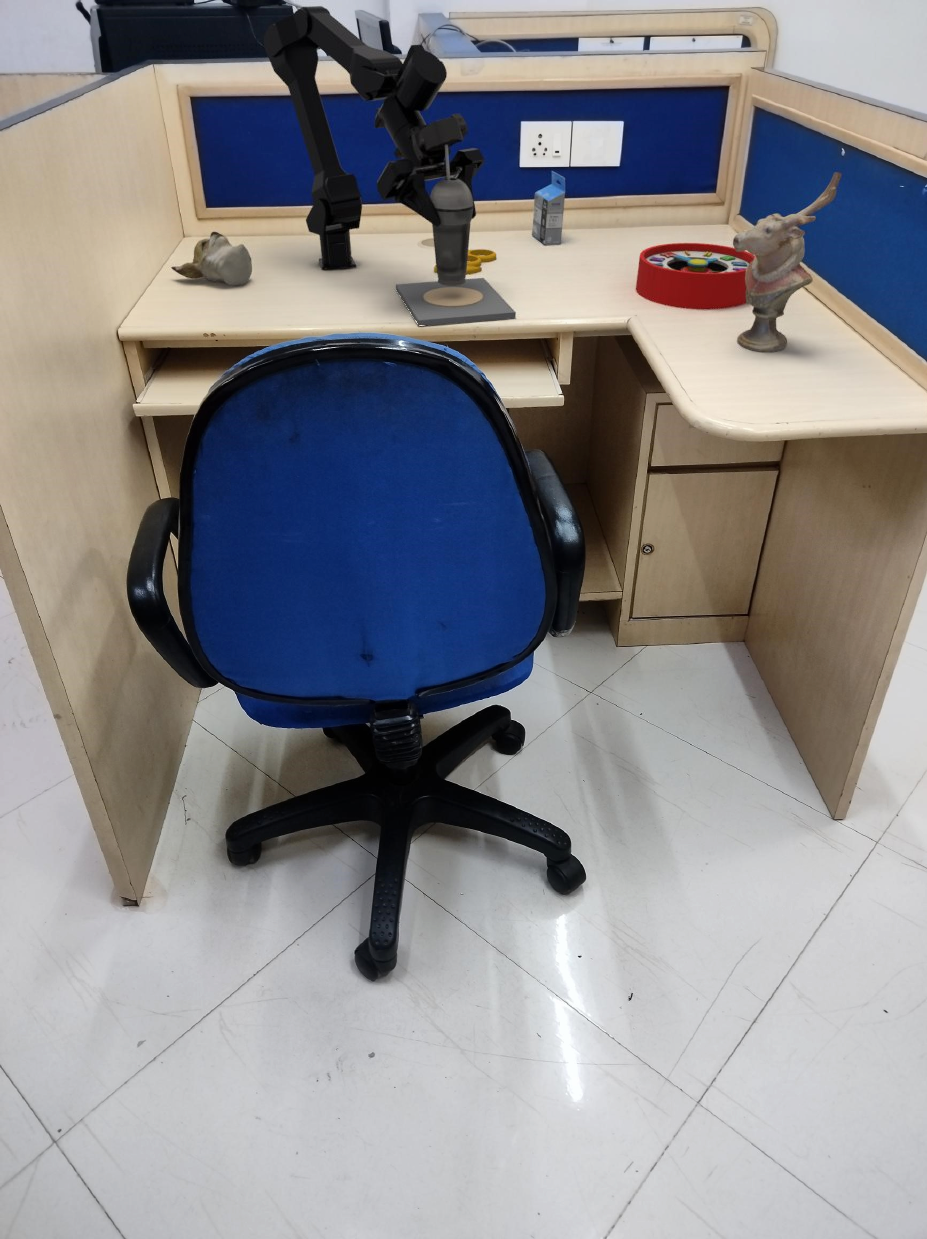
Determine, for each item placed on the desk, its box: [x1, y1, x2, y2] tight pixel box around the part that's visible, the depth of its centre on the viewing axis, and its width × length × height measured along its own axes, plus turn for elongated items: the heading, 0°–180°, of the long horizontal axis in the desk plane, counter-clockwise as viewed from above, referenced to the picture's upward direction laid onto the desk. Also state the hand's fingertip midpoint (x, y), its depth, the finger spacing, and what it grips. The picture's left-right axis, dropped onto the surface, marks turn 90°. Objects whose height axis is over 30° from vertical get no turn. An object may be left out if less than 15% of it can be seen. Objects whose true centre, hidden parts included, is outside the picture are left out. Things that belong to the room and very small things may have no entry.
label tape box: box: [531, 170, 566, 246], centre depth 173 cm, size 9×4×12 cm, turn 14°
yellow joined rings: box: [433, 248, 497, 276], centre depth 162 cm, size 17×2×10 cm
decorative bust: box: [732, 171, 843, 353], centre depth 119 cm, size 11×12×24 cm
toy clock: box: [635, 242, 755, 310], centre depth 146 cm, size 20×6×20 cm
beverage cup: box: [429, 145, 475, 286], centre depth 134 cm, size 7×7×20 cm
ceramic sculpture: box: [171, 231, 253, 287], centre depth 152 cm, size 11×9×15 cm
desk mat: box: [395, 277, 517, 327], centre depth 142 cm, size 20×16×1 cm
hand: (456, 220), depth 134 cm, fingers closed on beverage cup, 7 cm apart
